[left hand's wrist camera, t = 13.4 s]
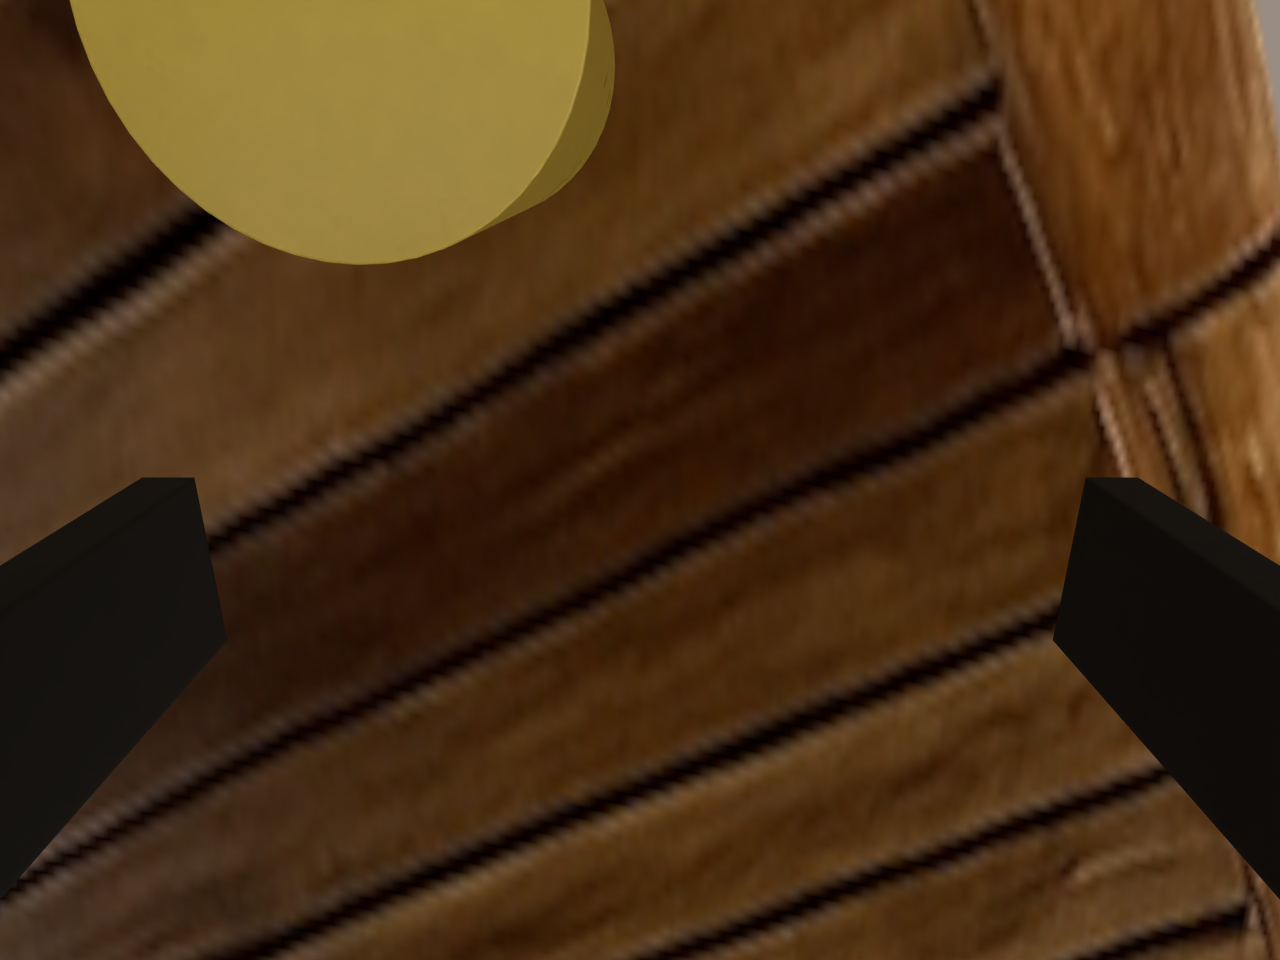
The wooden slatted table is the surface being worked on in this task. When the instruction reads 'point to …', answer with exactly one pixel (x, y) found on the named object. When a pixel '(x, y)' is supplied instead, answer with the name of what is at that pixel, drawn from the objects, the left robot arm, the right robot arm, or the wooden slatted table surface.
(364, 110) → the canister
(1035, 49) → the wooden slatted table surface
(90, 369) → the wooden slatted table surface
